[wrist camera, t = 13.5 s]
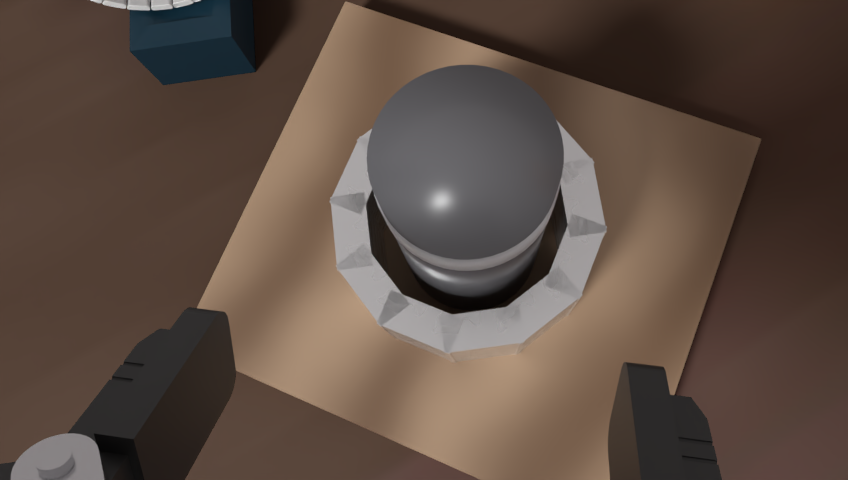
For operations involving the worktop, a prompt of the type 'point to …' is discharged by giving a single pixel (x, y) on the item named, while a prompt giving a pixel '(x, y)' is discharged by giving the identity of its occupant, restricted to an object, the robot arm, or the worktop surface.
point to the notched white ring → (478, 330)
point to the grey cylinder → (467, 180)
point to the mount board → (502, 375)
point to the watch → (191, 37)
